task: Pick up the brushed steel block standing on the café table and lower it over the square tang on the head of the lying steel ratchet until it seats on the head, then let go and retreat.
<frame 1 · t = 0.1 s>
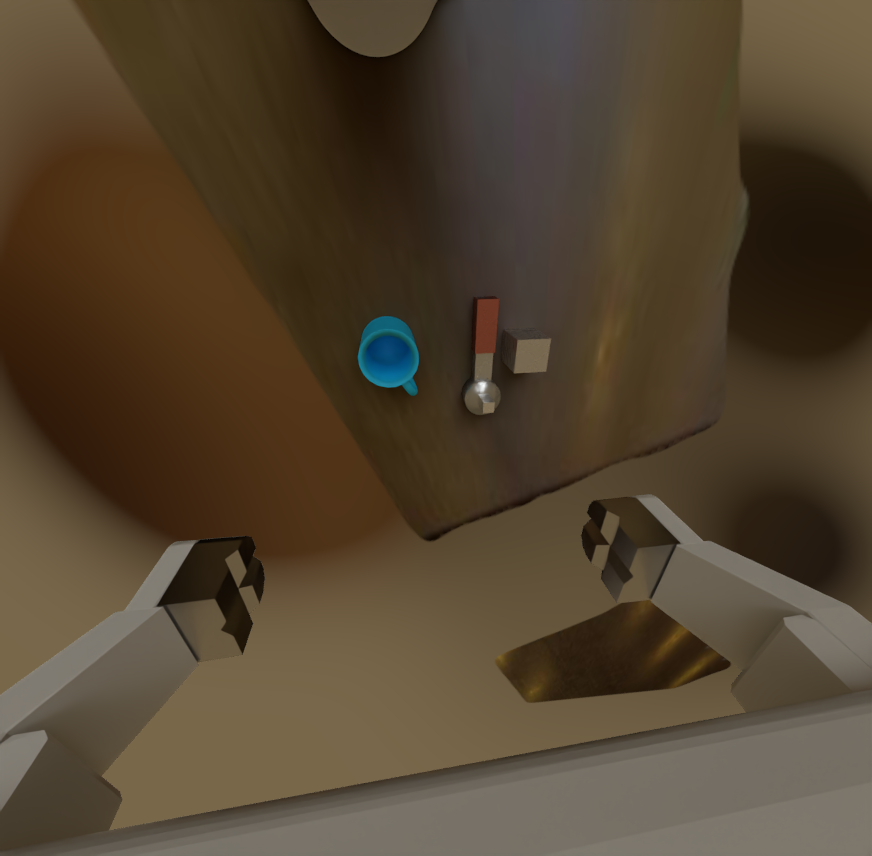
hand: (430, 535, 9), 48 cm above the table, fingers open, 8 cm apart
mug: (394, 353, 55), on the table
brushed steel block: (517, 344, 57), on the table
ratchet: (478, 391, 60), on the table
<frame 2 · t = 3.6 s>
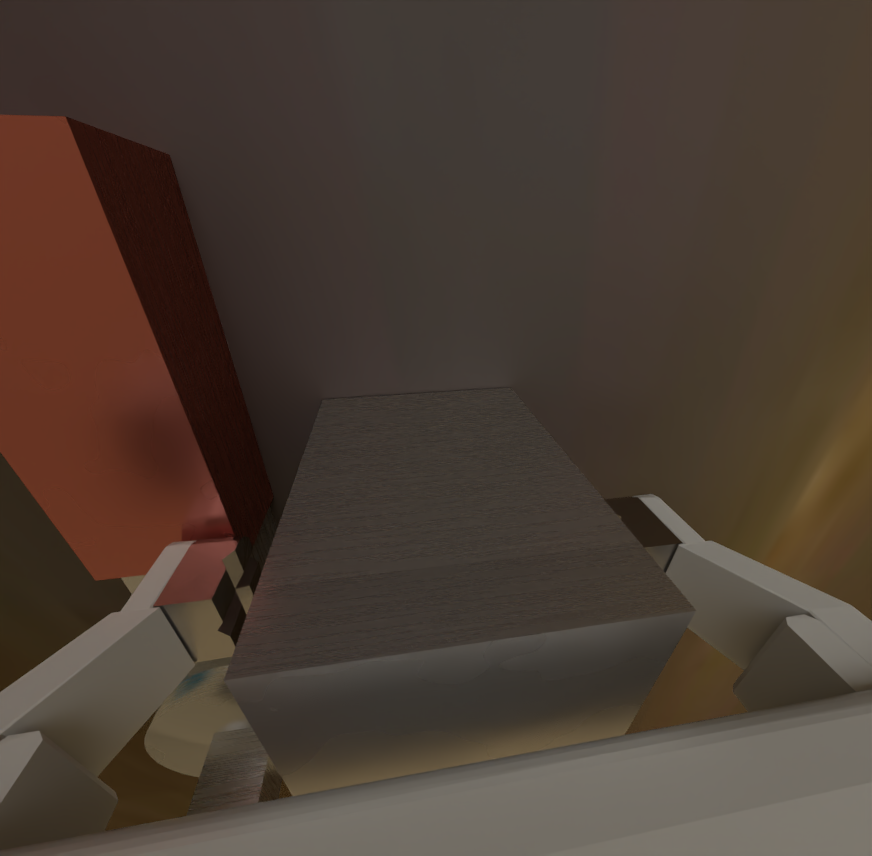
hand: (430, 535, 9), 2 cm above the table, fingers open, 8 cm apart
brushed steel block: (422, 470, 10), on the table
ratchet: (276, 645, 14), on the table, touching gripper
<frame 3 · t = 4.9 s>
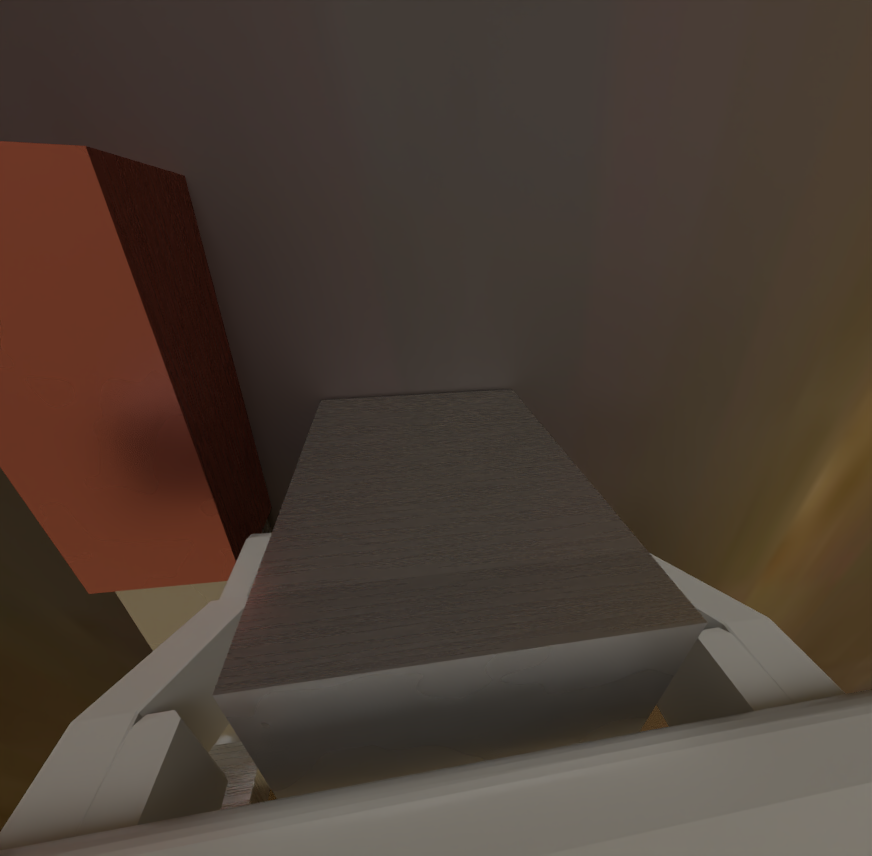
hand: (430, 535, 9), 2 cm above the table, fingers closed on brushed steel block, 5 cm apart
brushed steel block: (421, 472, 10), on the table, touching gripper
ratchet: (267, 656, 14), on the table
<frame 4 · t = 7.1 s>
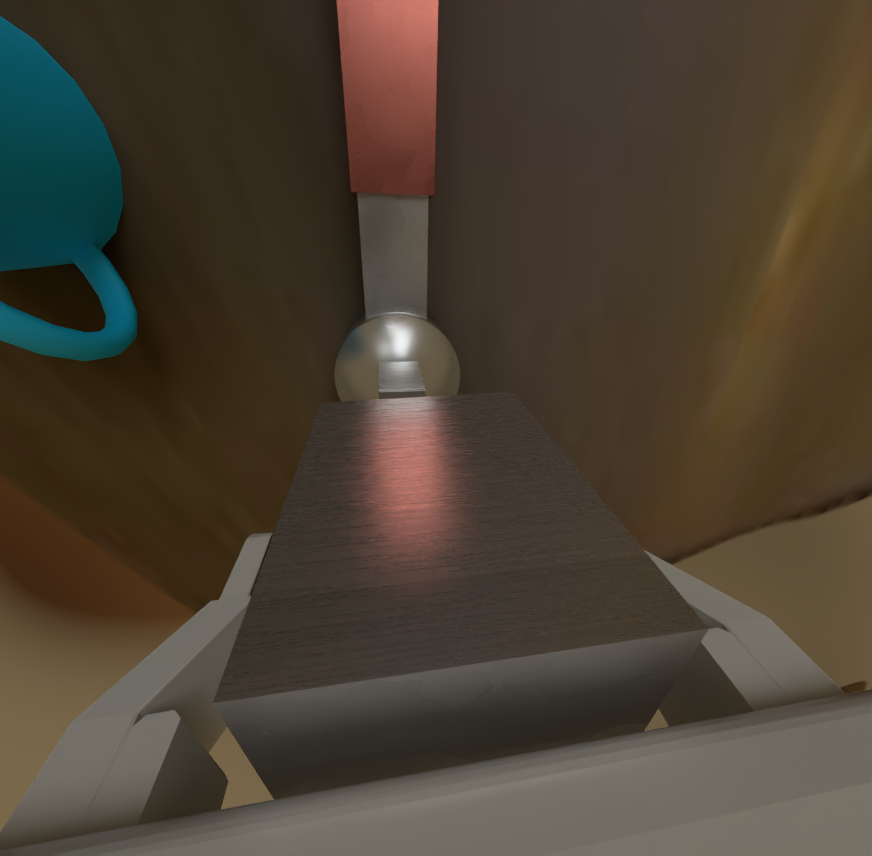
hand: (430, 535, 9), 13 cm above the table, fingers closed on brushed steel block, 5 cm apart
mug: (52, 200, 14), on the table
brushed steel block: (421, 474, 10), point 11 cm above the table, touching gripper
ratchet: (396, 359, 19), on the table
when the fingers open (6 cm above the table, at t = 9.0 s): brushed steel block stays where it is, resting on ratchet.
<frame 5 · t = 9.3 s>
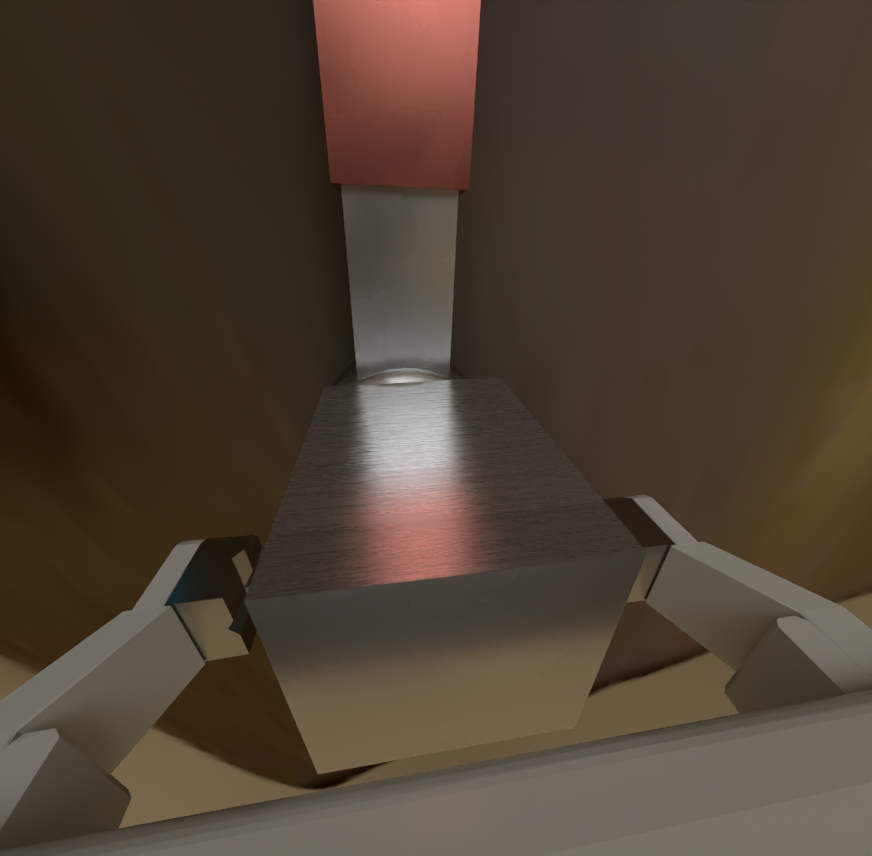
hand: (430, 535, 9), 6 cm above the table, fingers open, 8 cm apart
brushed steel block: (417, 455, 11), point 3 cm above the table, touching ratchet
ratchet: (402, 422, 14), on the table, touching brushed steel block
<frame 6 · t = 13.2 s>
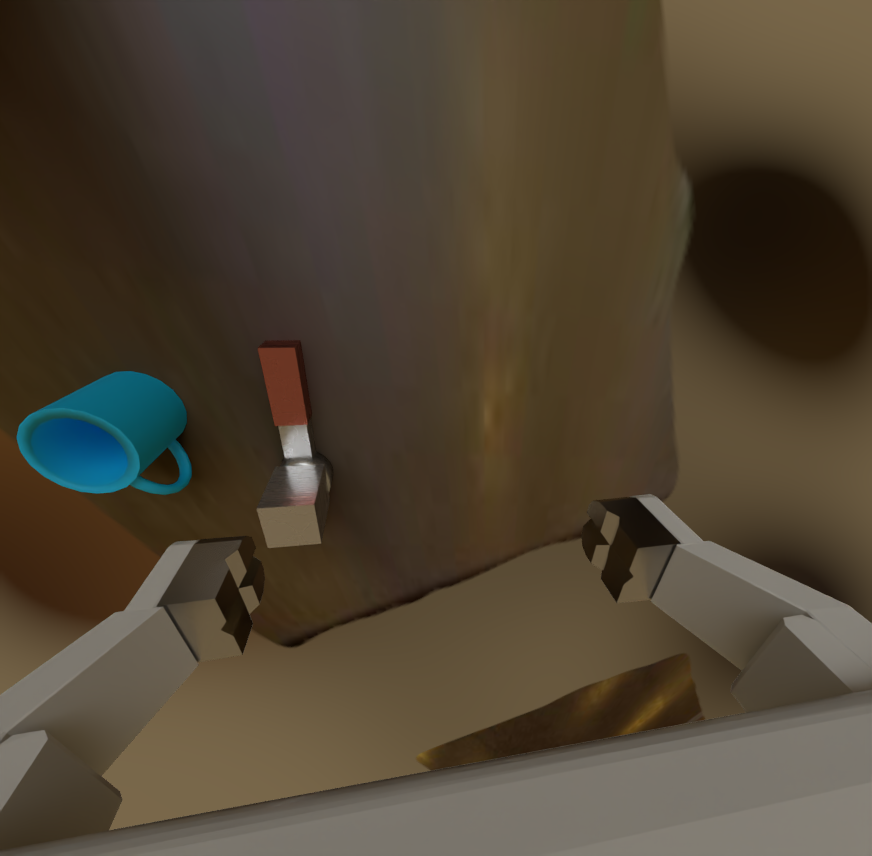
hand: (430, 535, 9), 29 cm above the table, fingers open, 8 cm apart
mug: (159, 422, 36), on the table
brushed steel block: (303, 484, 38), point 3 cm above the table, touching ratchet
ratchet: (307, 471, 41), on the table, touching brushed steel block
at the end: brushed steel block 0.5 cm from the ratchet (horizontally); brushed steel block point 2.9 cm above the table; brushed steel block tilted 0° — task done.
